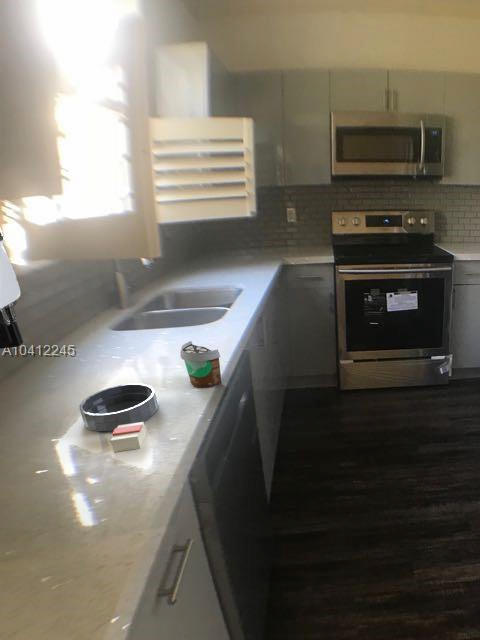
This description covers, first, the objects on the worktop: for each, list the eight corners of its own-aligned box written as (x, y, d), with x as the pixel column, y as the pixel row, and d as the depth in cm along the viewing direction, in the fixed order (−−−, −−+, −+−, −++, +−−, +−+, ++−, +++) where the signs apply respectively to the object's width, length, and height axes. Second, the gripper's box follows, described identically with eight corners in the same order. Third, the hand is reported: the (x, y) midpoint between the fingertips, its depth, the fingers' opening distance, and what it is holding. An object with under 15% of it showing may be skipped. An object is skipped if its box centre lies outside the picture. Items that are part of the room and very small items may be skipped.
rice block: (113, 452, 92) (109, 438, 91) (120, 436, 97) (117, 423, 96) (140, 448, 93) (137, 434, 92) (146, 432, 98) (143, 419, 97)
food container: (176, 382, 121) (168, 347, 117) (196, 374, 126) (190, 340, 122) (204, 394, 115) (197, 357, 111) (225, 385, 119) (219, 349, 115)
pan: (75, 438, 97) (69, 419, 95) (96, 405, 110) (91, 388, 109) (152, 426, 101) (147, 408, 99) (163, 396, 114) (159, 380, 112)
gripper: (-31, 232, 77) (6, 334, 84) (-89, 245, 64) (-40, 366, 71) (20, 229, 79) (52, 329, 86) (-25, 242, 65) (17, 359, 72)
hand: (11, 345), depth 78 cm, fingers closed
